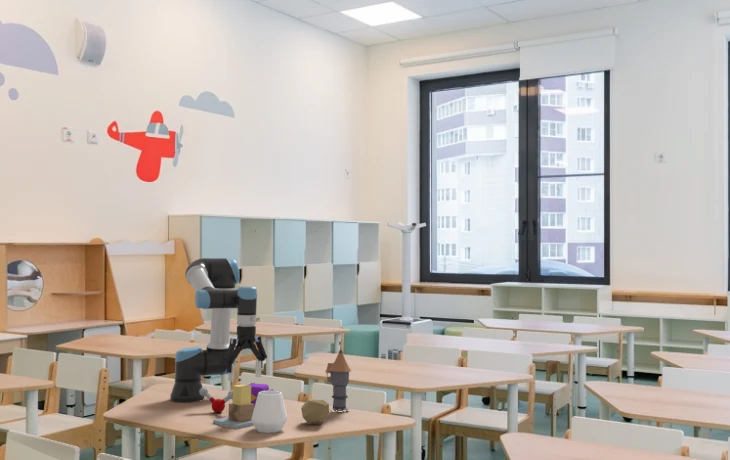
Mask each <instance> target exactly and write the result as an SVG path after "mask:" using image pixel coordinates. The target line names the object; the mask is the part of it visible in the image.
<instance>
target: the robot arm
mask: <svg viewBox="0 0 730 460" xmlns="http://www.w3.org/2000/svg"><path fill="white" fill-rule="evenodd" d="M184 273H185V276H184V277H185V279H186V281H187V283H188V284H189V285H191V286H192V288H193V290H194V291H195V294H194V303H195V306H196V308H197V309H202V310H208V309H211V314H210V315H211V317H210V320H211V321H210V335H209V336H210V339H209V343H208V344H207V345H206V349H203V347H201V346H191V347H184V348H182V349H179V350H177V351H176V353H175V360H174V362H175V365H174V368H175V370H174V383H173V387H172V390H171V393H170V397H169V398H170V399H169V400H170V402H174V403H194V402H201V401H200V400H202V401H204V400H205V398H206V396H201V395H200V393H199V391H200V389H201V388H202V387H203V385H202V376H219V375H220V376H222V375H227V381H229V382H234V380H235V365H236V364H235V363H236V359H237V357H238V356H239V355H240V353H241V352H242V351H243V350H246V349H247V350H249V349H250V350H251V352H252V354H253V355H254V356H255V358H256V360H255V371H254V372H255V377H257V378H261V377H262V369H263V365H264V364H263V362H264V361H265V359H267V357H268V355H267V353H266V350H265V348H264V345H263V343H262V336H259V335H256V333H257V332H256V331H257V327H256V324H257V307H258V305H257V301H258V300H257V299H258V293H257V292H258V291H257V287H255V286H248V285H247V286H245V285H244V286H239V287H238V288H237V289H235V288H236V285H237V284H239V282H240V269H239V265H238V262H237V260H235V259H234V258H227V257H226V258H225V257H223V258H221V257H218V258H215V257H214V258H212V257H211V258H209V257H207V258H206V257H202V258H198V259H195V260H194V261H192V262H191V263H189V265H188V266H187V267H186V270H185V272H184ZM232 309H237V311H236V313H237V315H236V325H237V326H236V338H230V330H231V329H230V327H231V310H232ZM203 399H204V400H203Z"/></svg>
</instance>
